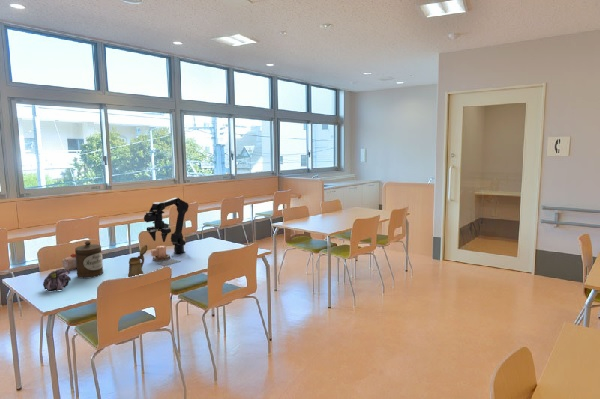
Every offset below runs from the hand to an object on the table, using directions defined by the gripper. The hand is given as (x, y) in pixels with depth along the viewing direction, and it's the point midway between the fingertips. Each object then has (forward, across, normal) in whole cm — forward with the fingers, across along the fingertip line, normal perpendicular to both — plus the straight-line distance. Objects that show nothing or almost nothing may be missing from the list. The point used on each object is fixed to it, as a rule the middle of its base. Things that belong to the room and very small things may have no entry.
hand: (159, 241), depth 289 cm
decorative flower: (+14, +8, +70) cm, 72 cm away
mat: (+13, -12, +4) cm, 19 cm away
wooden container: (+14, +14, +45) cm, 49 cm away
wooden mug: (+14, -14, +32) cm, 37 cm away
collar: (+13, 0, -1) cm, 13 cm away
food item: (+14, +36, +40) cm, 56 cm away
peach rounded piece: (+13, 0, +1) cm, 13 cm away
